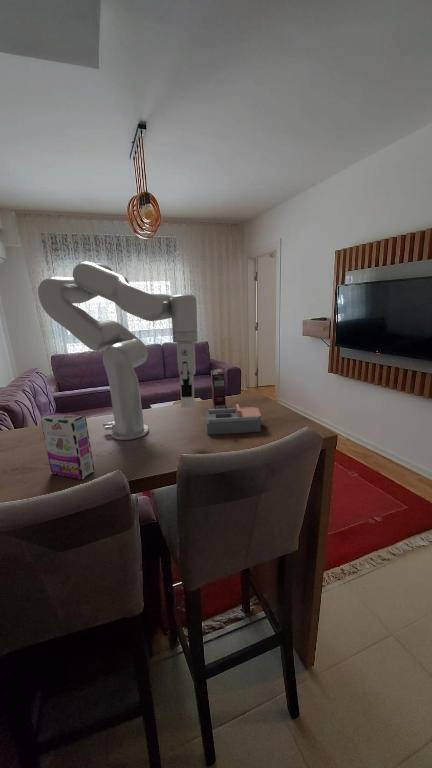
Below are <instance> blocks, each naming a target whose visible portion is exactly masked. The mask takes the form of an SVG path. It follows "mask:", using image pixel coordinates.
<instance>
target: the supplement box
mask: <svg viewBox="0 0 432 768" xmlns="http://www.w3.org/2000/svg"><path fill="white" fill-rule="evenodd" d="M210 379H211V395H212V396H211V397H212V407H213V409H227V404H226V403H227V402H226V384H225V383H226V382H225V373H224V372H223V369H222V368H218V369H211V370H210Z"/></svg>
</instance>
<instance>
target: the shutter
mask: <svg viewBox="0 0 432 768" xmlns="http://www.w3.org/2000/svg"><path fill="white" fill-rule="evenodd" d="M235 408H236V414H237V417H252V416H259V419H260V420H261V419H262V414H261V412H260V409H259V408H258V407H255V408H247V407H243V408H244V409H240V408H241V407H240V405H239V403H235Z"/></svg>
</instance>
